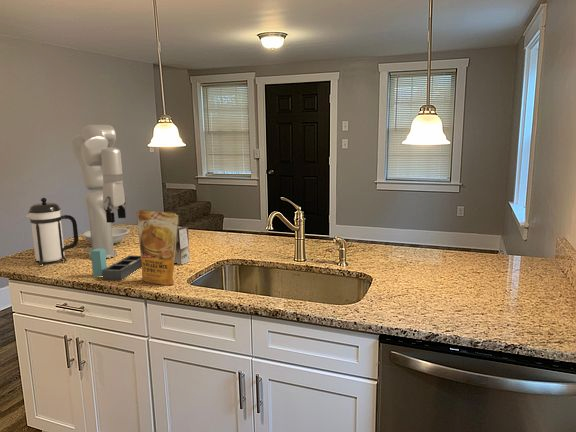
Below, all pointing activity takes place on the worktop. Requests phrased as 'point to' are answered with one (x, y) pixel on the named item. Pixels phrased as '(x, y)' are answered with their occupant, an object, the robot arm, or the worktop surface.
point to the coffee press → (49, 232)
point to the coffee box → (182, 246)
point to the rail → (122, 268)
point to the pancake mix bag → (157, 245)
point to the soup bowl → (116, 233)
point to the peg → (98, 261)
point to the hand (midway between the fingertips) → (116, 220)
